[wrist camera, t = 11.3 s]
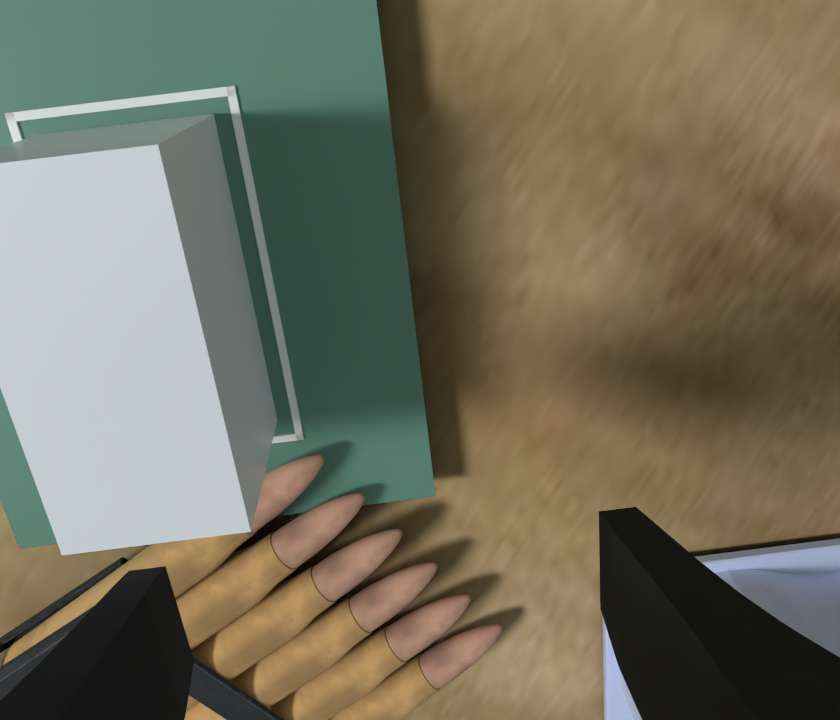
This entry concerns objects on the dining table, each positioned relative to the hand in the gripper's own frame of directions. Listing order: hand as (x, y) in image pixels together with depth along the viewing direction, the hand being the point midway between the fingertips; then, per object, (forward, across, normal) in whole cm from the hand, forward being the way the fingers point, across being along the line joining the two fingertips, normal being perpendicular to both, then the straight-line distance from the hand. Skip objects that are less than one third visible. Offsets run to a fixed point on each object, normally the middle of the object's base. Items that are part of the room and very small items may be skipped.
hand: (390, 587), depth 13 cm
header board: (+9, +5, -3) cm, 11 cm away
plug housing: (+8, +5, -3) cm, 10 cm away
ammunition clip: (+8, +10, +12) cm, 17 cm away
